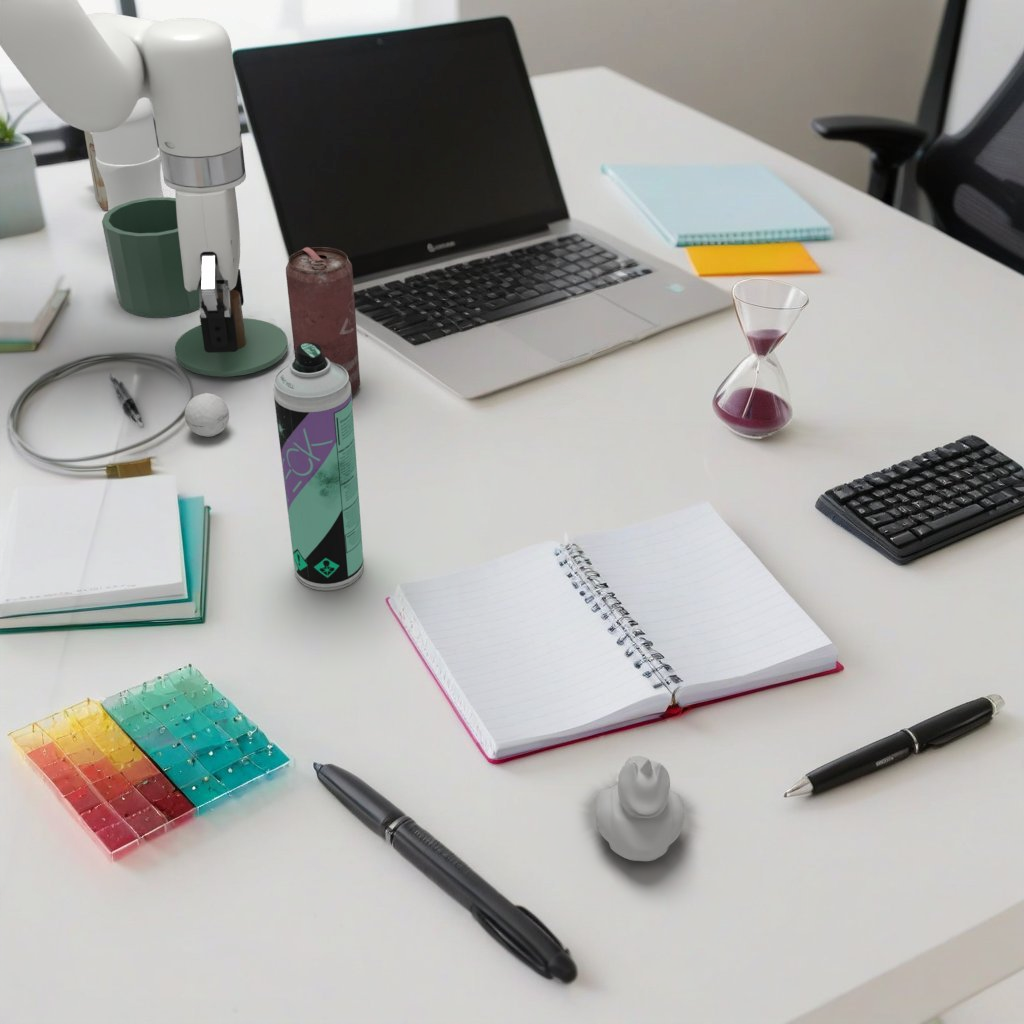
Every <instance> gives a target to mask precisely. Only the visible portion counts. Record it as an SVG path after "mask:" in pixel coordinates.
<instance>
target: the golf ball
mask: <svg viewBox="0 0 1024 1024" xmlns="http://www.w3.org/2000/svg"><path fill="white" fill-rule="evenodd" d="M184 420H185V422H186V425H187V427H188V428H189V429H190V430H191V431H192V432H193V433H194V434H196V435H198V436H200V437H207V438H208V437H215V436H217V435H219V434H220V433H222V432H223V431H224V430H225V429H226V427H227V425H228V424H229V422H230V410H229V407H228V405H227V404H226V402H225V401H224V400H223V398H221V397H220V396H218V395H216V394H214V393H209V392H208V393H207V392H205V393H200V394H197V395H195V396H193V397H192V398H191V399H190V400H189V401H188V403H187V405H186V406H185V409H184Z"/></svg>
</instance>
